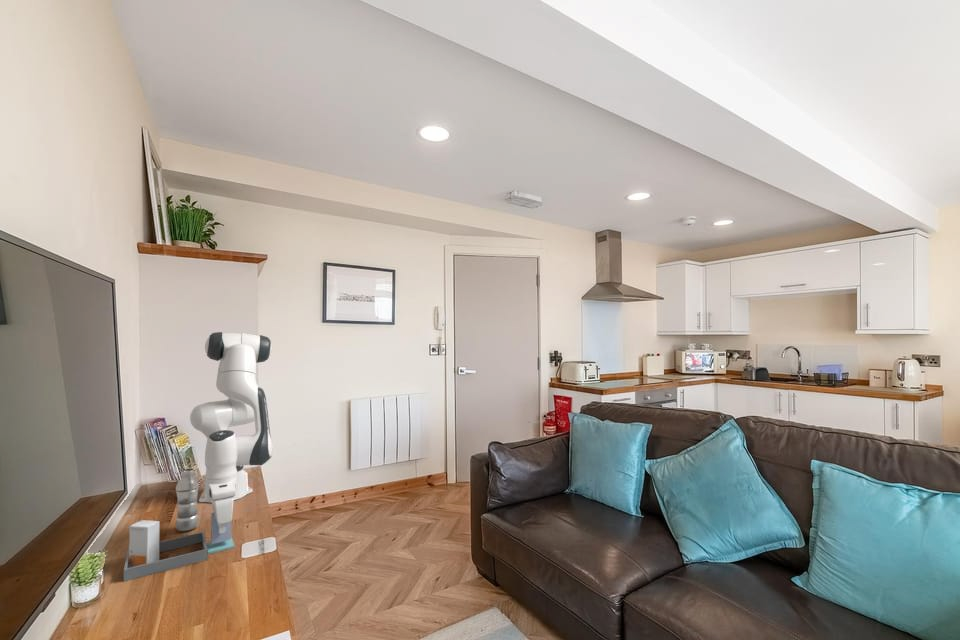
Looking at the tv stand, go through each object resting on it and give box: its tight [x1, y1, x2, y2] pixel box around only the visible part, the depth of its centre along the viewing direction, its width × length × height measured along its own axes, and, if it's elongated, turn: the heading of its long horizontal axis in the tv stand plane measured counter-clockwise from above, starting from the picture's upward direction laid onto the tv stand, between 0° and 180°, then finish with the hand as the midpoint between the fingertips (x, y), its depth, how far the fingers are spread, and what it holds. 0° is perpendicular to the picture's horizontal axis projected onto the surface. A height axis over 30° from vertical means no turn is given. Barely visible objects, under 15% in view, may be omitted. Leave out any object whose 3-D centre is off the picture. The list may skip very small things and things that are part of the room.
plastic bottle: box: [175, 467, 200, 532], centre depth 150 cm, size 6×7×20 cm
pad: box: [206, 536, 235, 555], centre depth 138 cm, size 7×7×1 cm
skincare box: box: [128, 519, 161, 568], centre depth 127 cm, size 6×4×12 cm
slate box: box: [210, 512, 232, 544], centre depth 138 cm, size 4×5×8 cm
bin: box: [123, 531, 208, 582], centre depth 131 cm, size 14×19×3 cm
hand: (221, 529), depth 138 cm, fingers closed on slate box, 4 cm apart
